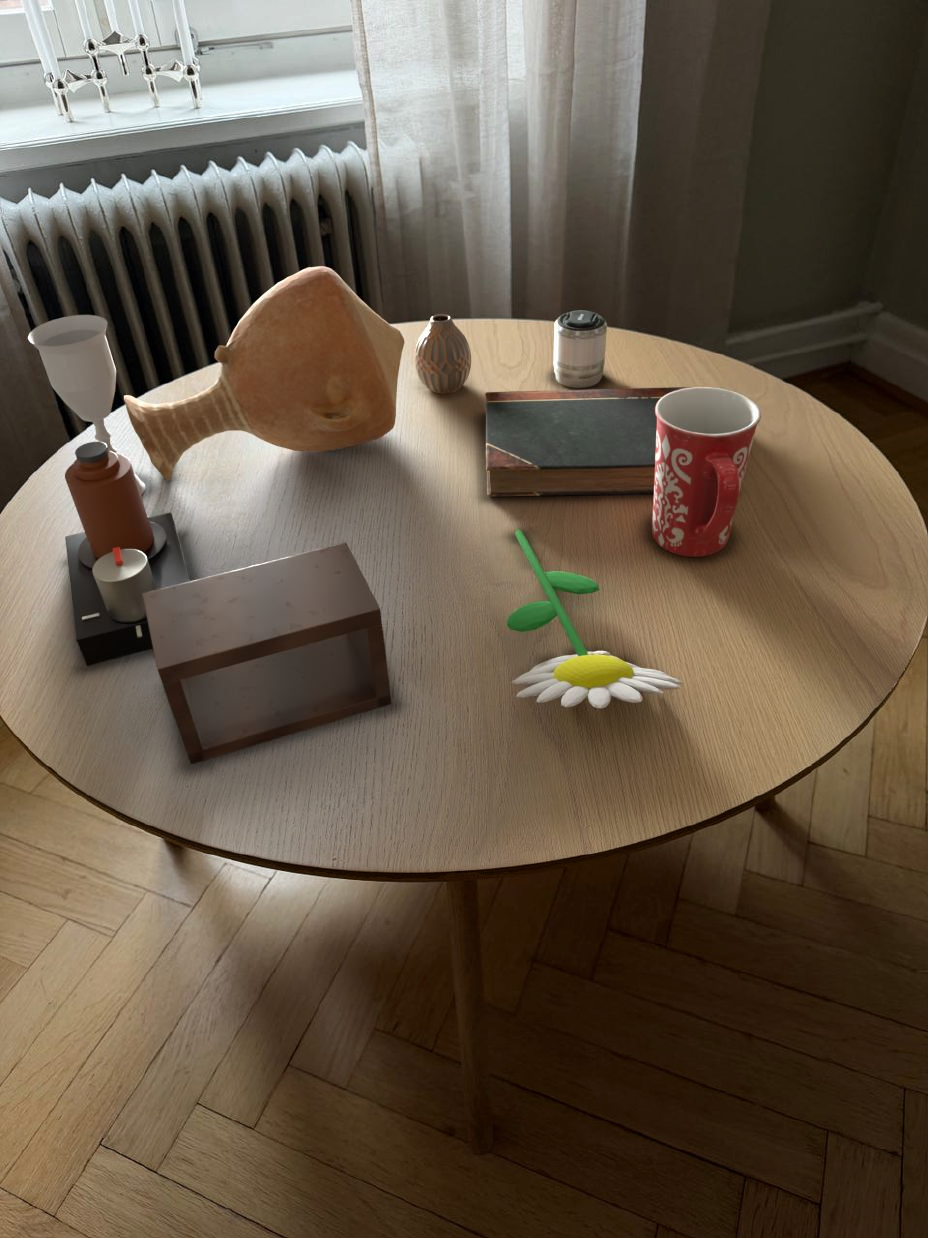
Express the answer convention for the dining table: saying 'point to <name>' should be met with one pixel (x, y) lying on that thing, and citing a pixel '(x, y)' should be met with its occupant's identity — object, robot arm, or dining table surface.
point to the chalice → (80, 368)
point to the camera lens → (579, 348)
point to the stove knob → (124, 583)
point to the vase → (442, 356)
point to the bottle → (108, 500)
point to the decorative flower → (577, 651)
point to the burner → (153, 551)
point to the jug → (289, 376)
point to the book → (572, 441)
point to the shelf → (268, 650)
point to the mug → (700, 467)
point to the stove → (91, 618)
